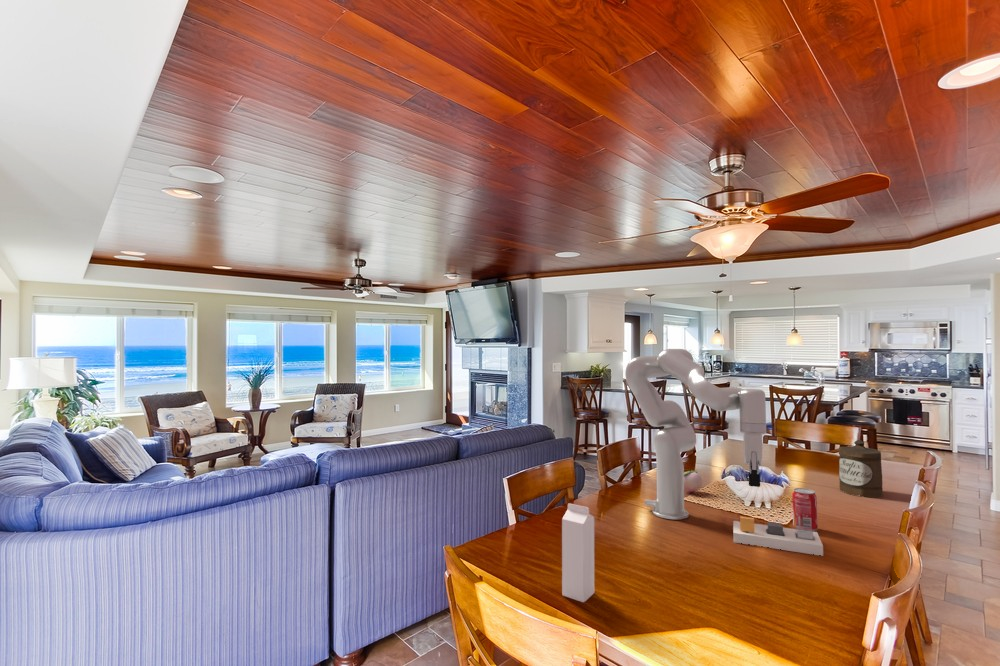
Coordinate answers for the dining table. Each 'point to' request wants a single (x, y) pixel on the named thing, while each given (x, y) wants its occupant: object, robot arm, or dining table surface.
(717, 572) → the dining table surface
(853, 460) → the wooden container
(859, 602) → the dining table surface
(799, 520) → the soda can
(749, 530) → the thick orange block
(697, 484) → the decorative fruit
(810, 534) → the button grey
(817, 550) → the panel
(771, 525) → the button black
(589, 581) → the milk
